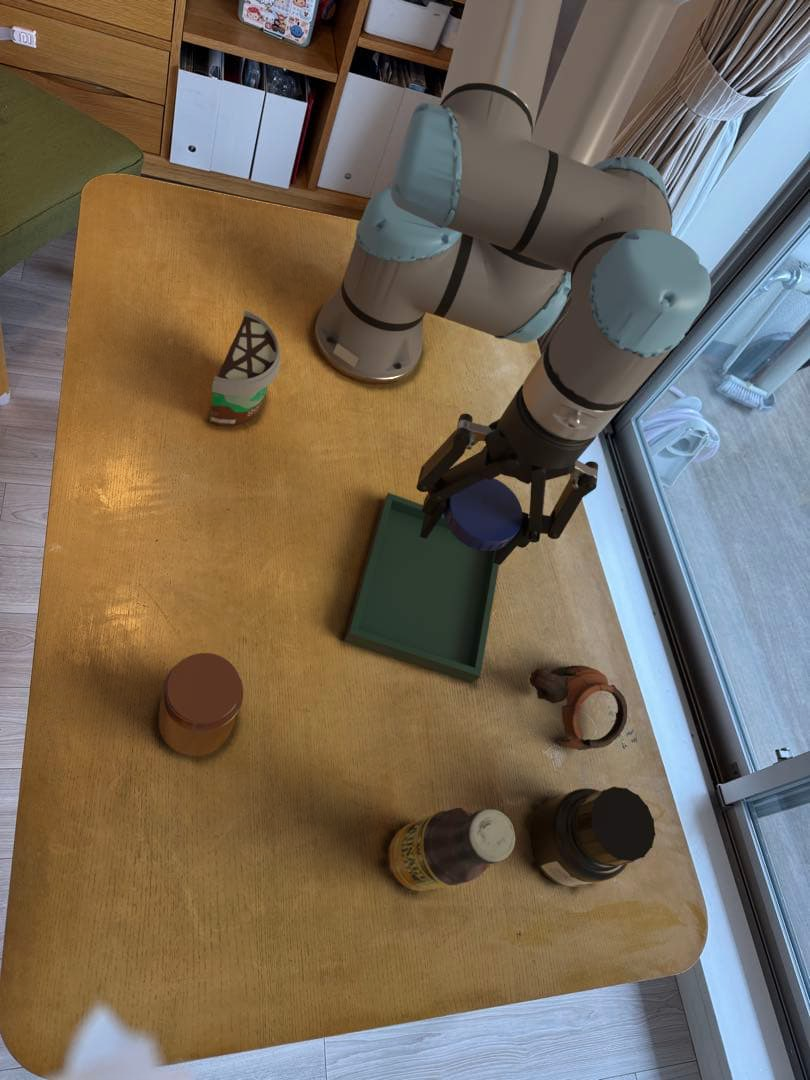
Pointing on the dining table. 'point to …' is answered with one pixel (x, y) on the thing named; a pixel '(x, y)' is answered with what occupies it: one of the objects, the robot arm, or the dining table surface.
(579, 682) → the pottery mug
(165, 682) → the jar
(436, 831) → the sauce bottle
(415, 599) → the tray
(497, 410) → the dining table surface
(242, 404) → the food container
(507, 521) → the lid
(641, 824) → the ink bottle
